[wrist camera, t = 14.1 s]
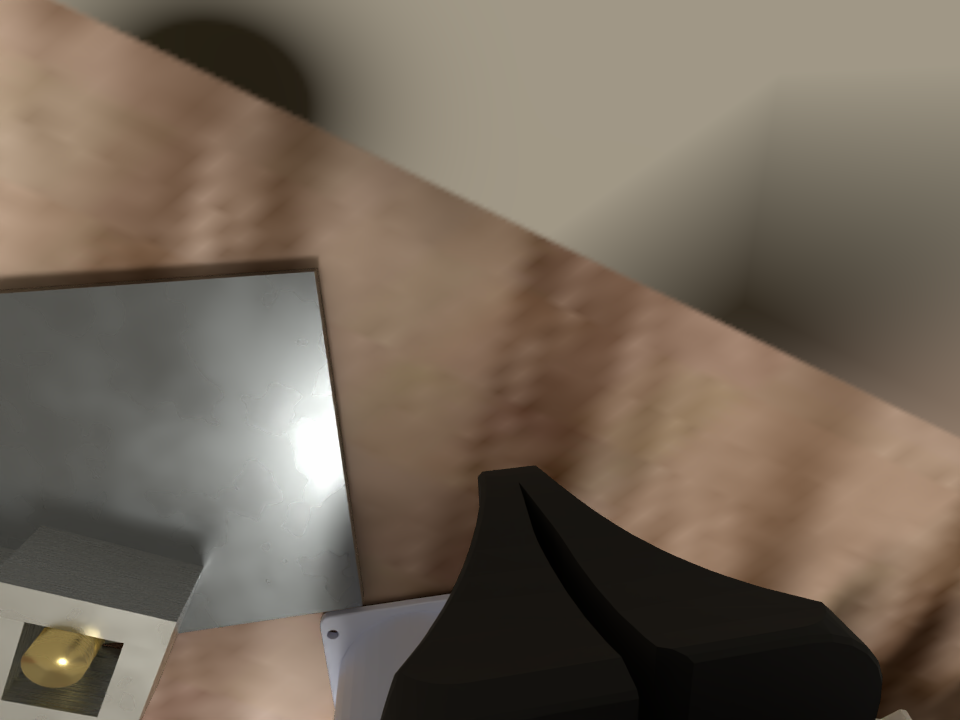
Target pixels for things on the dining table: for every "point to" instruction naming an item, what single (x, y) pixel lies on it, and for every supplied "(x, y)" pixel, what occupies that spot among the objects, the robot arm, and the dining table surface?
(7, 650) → the link
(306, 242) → the dining table surface
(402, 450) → the dining table surface
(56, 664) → the cylinder
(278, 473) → the plate
